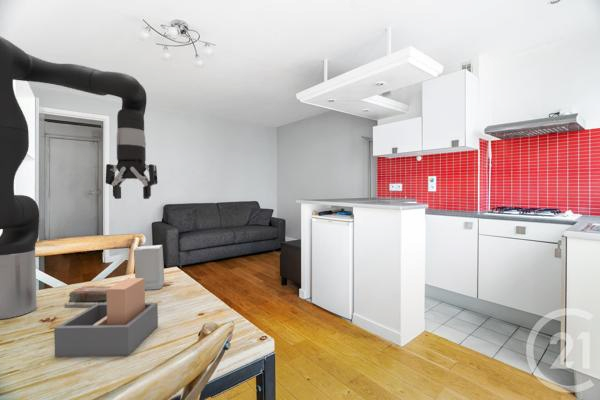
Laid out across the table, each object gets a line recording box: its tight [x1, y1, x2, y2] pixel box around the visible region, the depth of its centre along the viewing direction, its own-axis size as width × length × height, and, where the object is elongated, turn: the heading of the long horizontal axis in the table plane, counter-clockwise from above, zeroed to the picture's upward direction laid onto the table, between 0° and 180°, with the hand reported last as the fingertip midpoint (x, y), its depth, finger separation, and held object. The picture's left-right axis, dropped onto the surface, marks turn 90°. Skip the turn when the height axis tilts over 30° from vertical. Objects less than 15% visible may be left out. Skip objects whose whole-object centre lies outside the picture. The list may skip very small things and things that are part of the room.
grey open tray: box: [53, 302, 159, 358], centre depth 65 cm, size 15×13×6 cm
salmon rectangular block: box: [106, 277, 146, 325], centre depth 66 cm, size 4×8×12 cm, turn 1°
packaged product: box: [64, 285, 113, 309], centre depth 88 cm, size 18×5×10 cm
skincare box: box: [133, 244, 166, 291], centre depth 101 cm, size 8×6×15 cm
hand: (132, 198), depth 86 cm, fingers open, 8 cm apart
